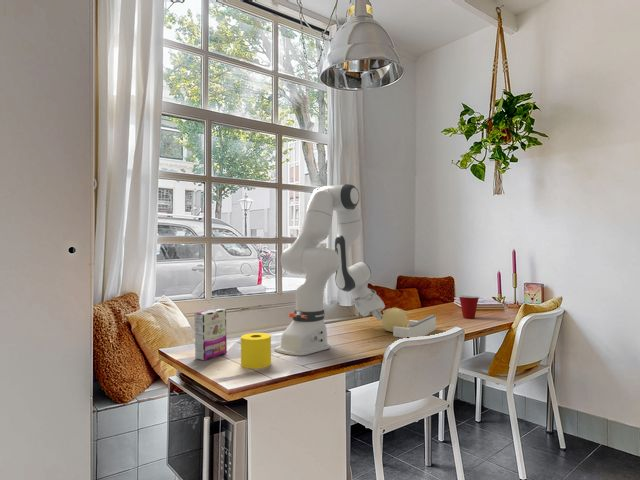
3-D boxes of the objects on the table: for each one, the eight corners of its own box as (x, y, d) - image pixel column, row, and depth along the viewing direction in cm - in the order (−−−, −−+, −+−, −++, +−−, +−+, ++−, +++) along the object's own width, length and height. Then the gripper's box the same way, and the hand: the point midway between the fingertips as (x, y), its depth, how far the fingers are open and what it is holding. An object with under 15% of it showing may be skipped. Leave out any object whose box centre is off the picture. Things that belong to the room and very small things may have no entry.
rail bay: (413, 341, 171) (413, 325, 171) (388, 338, 177) (388, 322, 177) (435, 329, 194) (435, 315, 194) (413, 326, 200) (413, 312, 200)
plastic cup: (481, 317, 224) (481, 295, 224) (477, 320, 215) (477, 297, 215) (461, 315, 230) (460, 293, 230) (456, 318, 221) (455, 295, 221)
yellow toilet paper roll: (236, 363, 142) (236, 335, 142) (262, 358, 148) (262, 331, 148) (248, 370, 134) (248, 341, 134) (276, 365, 140) (276, 336, 140)
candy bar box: (217, 351, 156) (217, 308, 156) (227, 353, 154) (227, 309, 154) (194, 358, 147) (193, 312, 147) (203, 361, 144) (203, 313, 144)
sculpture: (407, 329, 195) (407, 306, 195) (407, 334, 183) (407, 310, 183) (382, 328, 197) (382, 305, 197) (381, 333, 186) (381, 309, 185)
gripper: (356, 294, 189) (376, 318, 184) (376, 290, 207) (394, 311, 201) (347, 303, 192) (366, 327, 187) (368, 298, 209) (386, 319, 204)
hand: (381, 319), depth 194 cm, fingers closed
